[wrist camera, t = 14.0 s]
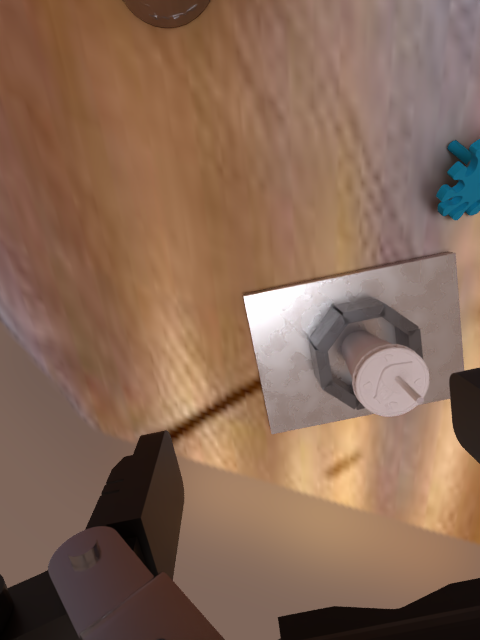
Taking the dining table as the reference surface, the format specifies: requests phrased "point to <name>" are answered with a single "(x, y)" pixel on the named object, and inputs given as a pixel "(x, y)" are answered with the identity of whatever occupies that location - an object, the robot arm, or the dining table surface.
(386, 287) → the hub plate
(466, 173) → the gear
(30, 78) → the dining table surface
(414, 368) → the smoothie
